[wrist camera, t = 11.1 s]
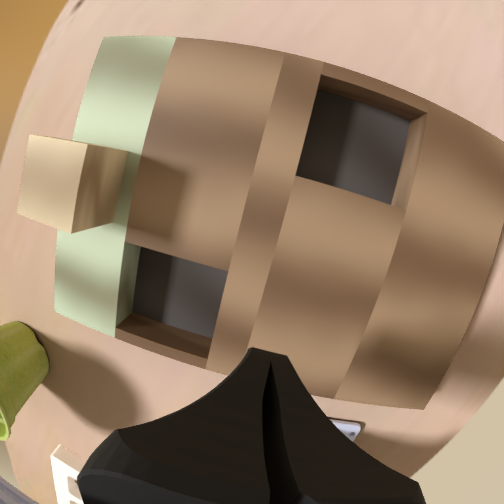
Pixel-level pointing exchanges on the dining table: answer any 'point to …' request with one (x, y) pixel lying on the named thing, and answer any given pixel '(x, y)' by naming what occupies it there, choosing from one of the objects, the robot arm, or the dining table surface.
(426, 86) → the dining table surface
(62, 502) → the holder
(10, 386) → the plant pot
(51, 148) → the maple block
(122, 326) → the trap board
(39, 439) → the dining table surface
